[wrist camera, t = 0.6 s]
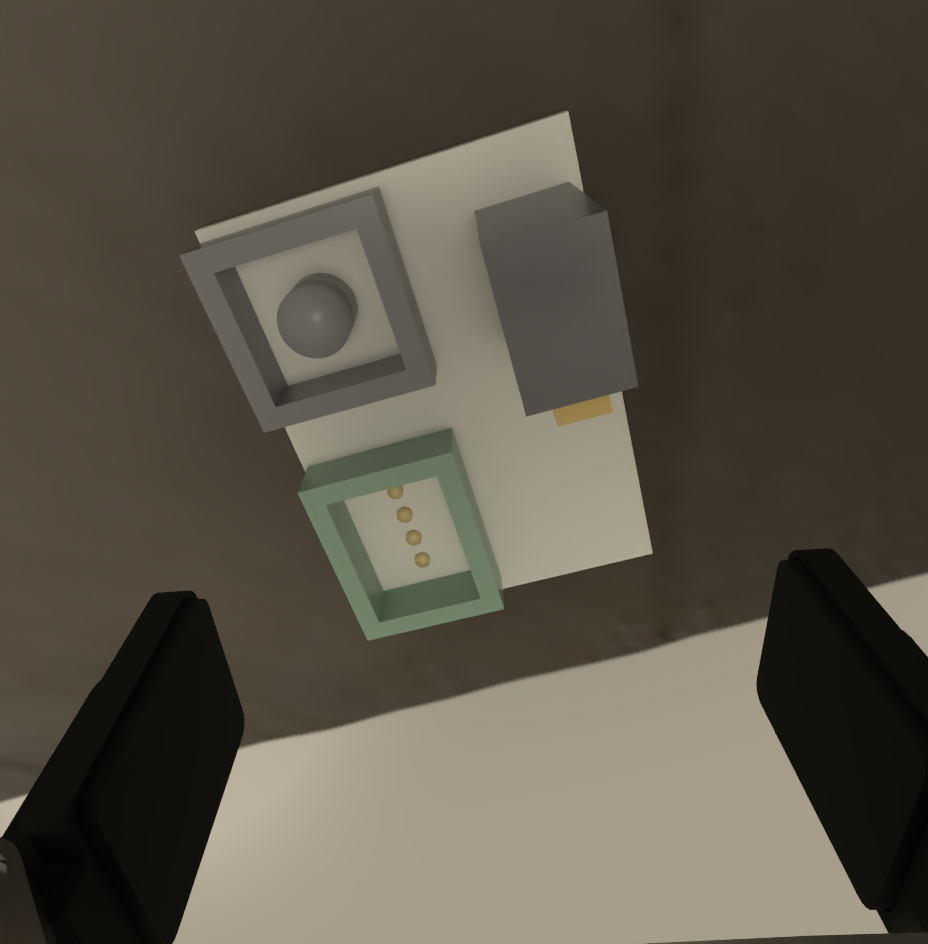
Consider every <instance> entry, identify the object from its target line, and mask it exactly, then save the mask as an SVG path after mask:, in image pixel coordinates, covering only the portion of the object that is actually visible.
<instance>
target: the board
mask: <svg viewBox="0 0 928 944" xmlns="http://www.w3.org/2000/svg"><path fill="white" fill-rule="evenodd" d="M566 182H570V183H571V184H573V185H574V186H575V187H577V188H578V189H579V190H581V191H582V192H583V193H584V191H583V186H582V181H581V175H580V170H579V165H578V160H577V155H576V149H575V144H574V139H573V134H572V128H571V123H570V118H569V113H568V111H561V112H558V113H555V114H552V115H549V116H546V117H543V118H540V119H536V120H533V121H530V122H527V123H524V124H521V125H518V126H515V127H512V128H509V129H505V130H502V131H499V132H496V133H493V134H490V135H487V136H484V137H481V138H478V139H474V140H471V141H468V142H465V143H462V144H459V145H456V146H453V147H450V148H447V149H443V150H440V151H437V152H434V153H431V154H428V155H425V156H422V157H419V158H416V159H412V160H409V161H406V162H403V163H400V164H397V165H394V166H391V167H388V168H384V169H381V170H378V171H375V172H372V173H369V174H366V175H363V176H360V177H357V178H353V179H350V180H347V181H344V182H341V183H338V184H335V185H332V186H329V187H326V188H322V189H319V190H316V191H313V192H310V193H307V194H304V195H301V196H298V197H295V198H291V199H288V200H285V201H282V202H279V203H276V204H273V205H270V206H267V207H264V208H260V209H257V210H254V211H251V212H248V213H245V214H242V215H239V216H236V217H232V218H229V219H226V220H223V221H220V222H217V223H214V224H211V225H208V226H205V227H202V228H200V229H198V230H197V231H195V234H196V236H197V238H198V240H199V242H200V244H198V245H196V246H195V247H193V248H191V249H189V250H188V251H186V252H184V253H182V254H181V255H179V257H180V259H181V261H182V263H183V265H184V267H185V269H186V271H187V273H188V275H189V277H190V279H191V282H192V284H193V286H194V288H195V290H196V292H197V294H198V296H199V298H200V300H201V302H202V304H203V307H204V309H205V311H206V313H207V315H208V317H209V319H210V321H211V323H212V325H213V327H214V330H215V332H216V334H217V336H218V338H219V340H220V342H221V344H222V346H223V348H224V350H225V352H226V355H227V357H228V359H229V361H230V363H231V365H232V367H233V369H234V371H235V373H236V375H237V378H238V380H239V382H240V384H241V386H242V388H243V390H244V392H245V394H246V396H247V398H248V400H249V403H250V405H251V407H252V409H253V411H254V413H255V415H256V417H257V419H258V421H259V423H260V425H261V428H262V430H263V432H264V433H266V432H269V431H273V430H276V429H280V428H284V427H285V429H286V431H287V433H288V435H289V438H290V440H291V442H292V444H293V446H294V448H295V451H296V453H297V455H298V457H299V459H300V461H301V464H302V466H303V468H304V470H305V472H306V470H307V468H308V466H311V465H315V464H319V463H323V462H326V461H330V460H334V459H337V458H341V457H345V456H349V455H352V454H356V453H360V452H364V451H367V450H371V449H375V448H378V447H382V446H386V445H390V444H393V443H397V442H401V441H404V440H408V439H412V438H416V437H419V436H423V435H427V434H431V433H434V432H438V431H442V430H445V429H449V428H452V429H453V432H454V435H455V438H456V442H457V445H458V448H459V451H460V454H461V457H462V460H463V463H464V466H465V469H466V472H467V475H468V478H469V481H470V484H471V487H472V490H473V493H474V496H475V499H476V502H477V505H478V508H479V511H480V514H481V517H482V520H483V523H484V526H485V529H486V532H487V536H488V539H489V542H490V545H491V548H492V551H493V554H494V557H495V560H496V563H497V566H498V569H499V572H500V575H501V578H502V589H504V588H508V587H512V586H517V585H521V584H525V583H529V582H534V581H538V580H542V579H546V578H551V577H555V576H559V575H563V574H568V573H572V572H576V571H580V570H585V569H589V568H593V567H597V566H602V565H606V564H610V563H614V562H619V561H623V560H627V559H631V558H636V557H640V556H644V555H648V554H653V553H652V548H651V542H650V537H649V532H648V527H647V521H646V516H645V511H644V506H643V500H642V495H641V490H640V485H639V479H638V474H637V469H636V464H635V459H634V453H633V448H632V443H631V438H630V432H629V427H628V422H627V417H626V411H625V406H624V401H623V396H622V391H621V392H617V393H613V394H610V395H609V396H610V401H611V406H612V411H613V412H612V413H608V414H605V415H601V416H597V417H593V418H589V419H586V420H582V421H578V422H574V423H570V424H567V425H563V426H559V427H558V425H557V422H556V419H555V416H554V412H553V410H550V411H546V412H542V413H538V414H535V415H531V416H527V417H526V414H525V410H524V407H523V403H522V399H521V396H520V392H519V388H518V384H517V381H516V377H515V373H514V370H513V366H512V362H511V358H510V355H509V351H508V347H507V344H506V340H505V336H504V332H503V329H502V325H501V321H500V318H499V314H498V310H497V306H496V303H495V299H494V295H493V291H492V288H491V284H490V280H489V277H488V273H487V269H486V265H485V262H484V258H483V254H482V251H481V246H480V240H479V234H478V228H477V222H476V216H475V210H479V209H482V208H485V207H488V206H492V205H495V204H498V203H501V202H505V201H508V200H511V199H514V198H518V197H521V196H524V195H527V194H531V193H534V192H537V191H540V190H543V189H547V188H550V187H553V186H556V185H560V184H563V183H566ZM402 486H403V495H402V497H400V498H399V499H392V498H390V497H389V496H388V494H387V489H386V490H382V491H378V492H375V493H371V494H367V495H363V496H359V497H355V498H351V499H348V500H344V502H345V504H346V506H347V508H348V511H349V513H350V515H351V518H352V520H353V522H354V524H355V527H356V529H357V531H358V534H359V536H360V538H361V540H362V543H363V545H364V547H365V549H366V552H367V554H368V556H369V559H370V561H371V563H372V565H373V568H374V570H375V572H376V574H377V577H378V579H379V581H380V584H381V586H382V588H383V590H384V591H386V590H390V589H394V588H398V587H402V586H406V585H411V584H415V583H419V582H423V581H427V580H431V579H436V578H440V577H444V576H448V575H452V574H456V573H460V572H465V571H469V570H470V567H469V565H468V562H467V559H466V556H465V553H464V551H463V548H462V545H461V542H460V539H459V536H458V534H457V531H456V528H455V525H454V522H453V520H452V517H451V514H450V511H449V508H448V505H447V503H446V500H445V497H444V494H443V491H442V489H441V486H440V483H439V480H438V477H437V476H436V477H432V478H428V479H425V480H421V481H417V482H413V483H409V484H405V485H402ZM401 507H408V508H410V509H411V510H412V512H413V515H412V519H411V521H410V522H407V523H402V522H400V521H399V520H398V519H397V511H398V509H399V508H401ZM411 530H417V531H419V532H420V533H421V542H420V544H418V545H416V546H412V545H409V544H408V543H407V541H406V535H407V533H408V532H409V531H411ZM420 552H425V553H427V554H428V555H429V556H430V564H429V565H428V566H427V567H424V568H421V567H418V566H417V565H416V564H415V557H416V555H417V554H418V553H420Z"/></svg>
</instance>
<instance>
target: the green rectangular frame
mask: <svg viewBox="0 0 928 944" xmlns="http://www.w3.org/2000/svg"><path fill="white" fill-rule="evenodd" d="M436 476H437V477H438V480H439V483H440V486H441V489H442V491H443V494H444V497H445V500H446V503H447V505H448V508H449V511H450V514H451V517H452V520H453V522H454V525H455V528H456V531H457V534H458V536H459V539H460V542H461V545H462V548H463V551H464V553H465V556H466V559H467V562H468V565H469V567H470V570H469V571H465V572H460V573H456V574H452V575H448V576H444V577H440V578H436V579H431V580H427V581H423V582H419V583H415V584H411V585H406V586H402V587H398V588H394V589H390V590H386V591H384V590H383V588H382V586H381V584H380V581H379V579H378V577H377V574H376V572H375V570H374V568H373V565H372V563H371V561H370V559H369V556H368V554H367V552H366V549H365V547H364V545H363V543H362V540H361V538H360V536H359V534H358V531H357V529H356V527H355V524H354V522H353V520H352V518H351V515H350V513H349V511H348V508H347V506H346V504H345V502H344V500H348V499H351V498H355V497H359V496H363V495H367V494H371V493H375V492H378V491H382V490H386V489H387V494H388V496H389V497H390V498H392V499H399V498H400V497H402V495H403V486H402V485H405V484H409V483H413V482H417V481H421V480H425V479H428V478H432V477H436ZM298 495H299V497H300V499H301V501H302V503H303V506H304V508H305V510H306V512H307V514H308V516H309V518H310V520H311V522H312V525H313V527H314V529H315V531H316V533H317V535H318V537H319V539H320V541H321V543H322V546H323V548H324V550H325V552H326V554H327V556H328V558H329V560H330V562H331V564H332V567H333V569H334V571H335V573H336V575H337V577H338V579H339V581H340V583H341V586H342V588H343V590H344V592H345V594H346V596H347V598H348V600H349V602H350V604H351V607H352V609H353V611H354V613H355V615H356V617H357V619H358V621H359V623H360V625H361V628H362V630H363V632H364V634H365V636H366V638H367V640H373V639H377V638H381V637H386V636H390V635H394V634H399V633H403V632H407V631H411V630H416V629H420V628H424V627H429V626H433V625H437V624H442V623H446V622H450V621H455V620H459V619H463V618H468V617H472V616H476V615H481V614H485V613H489V612H494V611H498V610H502V609H504V599H503V589H502V578H501V575H500V572H499V569H498V566H497V563H496V560H495V557H494V554H493V551H492V548H491V545H490V542H489V539H488V536H487V532H486V529H485V526H484V523H483V520H482V517H481V514H480V511H479V508H478V505H477V502H476V499H475V496H474V493H473V490H472V487H471V484H470V481H469V478H468V475H467V472H466V469H465V466H464V463H463V460H462V457H461V454H460V451H459V448H458V445H457V442H456V438H455V435H454V432H453V429H452V428H449V429H445V430H442V431H438V432H434V433H431V434H427V435H423V436H419V437H416V438H412V439H408V440H404V441H401V442H397V443H393V444H390V445H386V446H382V447H378V448H375V449H371V450H367V451H364V452H360V453H356V454H352V455H349V456H345V457H341V458H337V459H334V460H330V461H326V462H323V463H319V464H315V465H311V466H308V468H307V470H306V473H305V475H304V478H303V480H302V483H301V485H300V488H299V490H298ZM412 515H413V512H412V510H411V509H410V508H408V507H401V508H399V509H398V511H397V519H398V520H399V521H400V522H402V523H407V522H410V521H411V519H412ZM406 541H407V543H408V544H409V545H412V546H416V545H418V544H420V542H421V533H420V532H419V531H417V530H411V531H409V532H408V533H407V535H406ZM415 564H416V565H417V566H418V567H421V568H424V567H427V566H428V565H429V564H430V556H429V555H428V554H427V553H425V552H420V553H418V554H417V555H416V557H415Z"/></svg>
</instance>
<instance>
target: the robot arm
mask: <svg viewBox="0 0 928 944" xmlns="http://www.w3.org/2000/svg"><path fill="white" fill-rule="evenodd" d="M757 693H758V697H759V700H760V703H761V705H762V707H763V709H764V711H765V713H766V715H767V717H768V719H769V721H770V723H771V725H772V727H773V729H774V731H775V733H776V735H777V737H778V739H779V741H780V742H781V744H782V746H783V748H784V750H785V752H786V754H787V756H788V758H789V760H790V762H791V764H792V766H793V768H794V770H795V772H796V774H797V776H798V778H799V780H800V782H801V784H802V786H803V788H804V790H805V792H806V794H807V796H808V798H809V800H810V802H811V804H812V806H813V808H814V810H815V812H816V814H817V816H818V818H819V820H820V822H821V823H822V826H823V827H824V830H825V832H826V833H827V836H828V837H829V839H830V841H831V843H832V845H833V847H834V849H835V851H836V853H837V855H838V857H839V859H840V861H841V863H842V865H843V867H844V869H845V871H846V873H847V875H848V877H849V879H850V881H851V883H852V885H853V887H854V889H855V891H856V893H857V895H858V897H859V898H860V900H861V902H862V903H863V904H864V906H865V907H866V908H868V909H869V910H877V912H878V914H879V916H880V918H881V919H882V921H883V923H884V925H885V927H886V929H887V931H888V933H889V934H855V935H822V936H795V937H774V938H755V939H754V938H753V939H732V940H711V941H691V942H670V943H649V944H928V657H927V656H926V655H925V653H924V652H923V651H922V650H921V649H920V647H919V646H918V645H917V644H916V643H915V642H914V640H913V639H912V638H911V637H910V636H909V635H907V633H905V632H904V631H903V630H901V629H900V628H899V626H898V625H897V624H896V623H895V622H894V621H893V619H892V618H891V617H890V616H889V614H888V613H887V612H886V611H885V610H884V608H883V607H882V606H881V605H880V604H879V603H878V601H877V600H876V599H875V598H874V597H873V595H872V594H871V593H870V592H869V591H868V589H867V588H866V587H865V586H864V585H863V583H862V582H861V581H860V580H859V579H858V578H857V576H856V575H855V574H854V573H853V572H852V570H851V569H850V568H849V567H848V566H847V564H846V563H845V562H844V561H843V560H842V558H841V557H840V556H839V555H838V554H837V553H836V552H835V551H834V550H833V549H830V548H824V549H809V550H795V551H792V552H791V553H790V555H789V557H788V560H782V561H780V563H779V564H778V568H777V573H776V578H775V583H774V589H773V594H772V600H771V605H770V610H769V616H768V621H767V627H766V632H765V638H764V643H763V648H762V654H761V659H760V665H759V670H758V675H757ZM243 732H244V713H243V709H242V706H241V703H240V700H239V697H238V694H237V691H236V688H235V685H234V682H233V679H232V675H231V672H230V669H229V666H228V663H227V660H226V657H225V654H224V651H223V648H222V645H221V642H220V639H219V635H218V632H217V629H216V626H215V623H214V620H213V617H212V614H211V611H210V608H209V605H208V603H207V601H206V600H205V599H198V598H197V596H196V594H195V593H194V592H193V591H178V592H163V593H156V594H154V595H153V596H152V597H151V599H150V600H149V602H148V603H147V605H146V607H145V608H144V610H143V612H142V613H141V615H140V617H139V618H138V620H137V622H136V623H135V625H134V627H133V628H132V630H131V632H130V633H129V635H128V637H127V638H126V640H125V641H124V643H123V645H122V646H121V648H120V650H119V651H118V653H117V655H116V656H115V658H114V660H113V661H112V663H111V665H110V666H109V668H108V670H107V671H106V673H105V675H104V676H103V678H102V679H101V681H99V682H98V683H97V684H96V685H95V687H94V688H93V689H92V691H91V692H90V694H89V695H88V697H87V699H86V700H85V702H84V704H83V705H82V707H81V709H80V710H79V712H78V713H77V715H76V717H75V718H74V720H73V722H72V723H71V725H70V727H69V728H68V730H67V731H66V733H65V735H64V736H63V738H62V740H61V741H60V743H59V745H58V746H57V748H56V749H55V751H54V753H53V754H52V756H51V758H50V759H49V761H48V763H47V764H46V766H45V767H44V769H43V771H42V772H41V774H40V776H39V777H38V779H37V781H36V782H35V784H34V785H33V787H32V789H31V790H30V792H29V794H28V795H27V797H26V799H25V800H24V802H23V803H22V805H21V807H20V809H19V810H18V812H17V813H16V815H15V817H14V818H13V820H12V822H11V823H10V825H9V826H8V828H7V830H6V831H5V833H4V835H3V836H2V837H0V944H172V943H173V941H174V940H175V937H176V935H177V932H178V929H179V926H180V923H181V920H182V917H183V914H184V911H185V908H186V905H187V902H188V899H189V896H190V893H191V890H192V887H193V884H194V881H195V878H196V875H197V871H198V869H199V866H200V862H201V859H202V857H203V854H204V850H205V848H206V845H207V842H208V839H209V835H210V833H211V829H212V827H213V823H214V820H215V817H216V814H217V811H218V808H219V805H220V802H221V799H222V796H223V793H224V790H225V787H226V784H227V781H228V778H229V775H230V772H231V769H232V766H233V763H234V760H235V757H236V754H237V751H238V748H239V745H240V742H241V739H242V736H243Z"/></svg>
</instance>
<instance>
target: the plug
mask: <svg viewBox="0 0 928 944" xmlns="http://www.w3.org/2000/svg"><path fill="white" fill-rule="evenodd" d="M475 216H476V222H477V228H478V234H479V240H480V246H481V251H482V254H483V258H484V262H485V265H486V269H487V273H488V277H489V280H490V284H491V288H492V291H493V295H494V299H495V303H496V306H497V310H498V314H499V318H500V321H501V325H502V329H503V332H504V336H505V340H506V344H507V347H508V351H509V355H510V358H511V362H512V366H513V370H514V373H515V377H516V381H517V384H518V388H519V392H520V396H521V399H522V403H523V407H524V410H525V414H526V417H527V416H531V415H535V414H538V413H542V412H546V411H550V410H553V412H554V416H555V419H556V422H557V425H558V427H559V426H563V425H567V424H570V423H574V422H578V421H582V420H586V419H589V418H593V417H597V416H601V415H605V414H608V413H612V412H613V411H612V406H611V401H610V396H609V395H610V394H613V393H617V392H621V391H625V390H628V389H632V388H636V387H638V381H637V376H636V370H635V364H634V359H633V353H632V347H631V342H630V336H629V331H628V325H627V319H626V314H625V308H624V302H623V297H622V291H621V285H620V280H619V274H618V269H617V263H616V257H615V252H614V246H613V240H612V235H611V229H610V223H609V218H608V212H607V210H606V209H605V208H603V207H602V206H601V205H599V204H598V203H597V202H595V201H594V200H593V199H591V198H590V197H589V196H587V195H586V194H585V193H583V192H582V191H581V190H579V189H578V188H577V187H575V186H574V185H573V184H571V183H570V182H566V183H563V184H560V185H556V186H553V187H550V188H547V189H543V190H540V191H537V192H534V193H531V194H527V195H524V196H521V197H518V198H514V199H511V200H508V201H505V202H501V203H498V204H495V205H492V206H488V207H485V208H482V209H479V210H475Z"/></svg>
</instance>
